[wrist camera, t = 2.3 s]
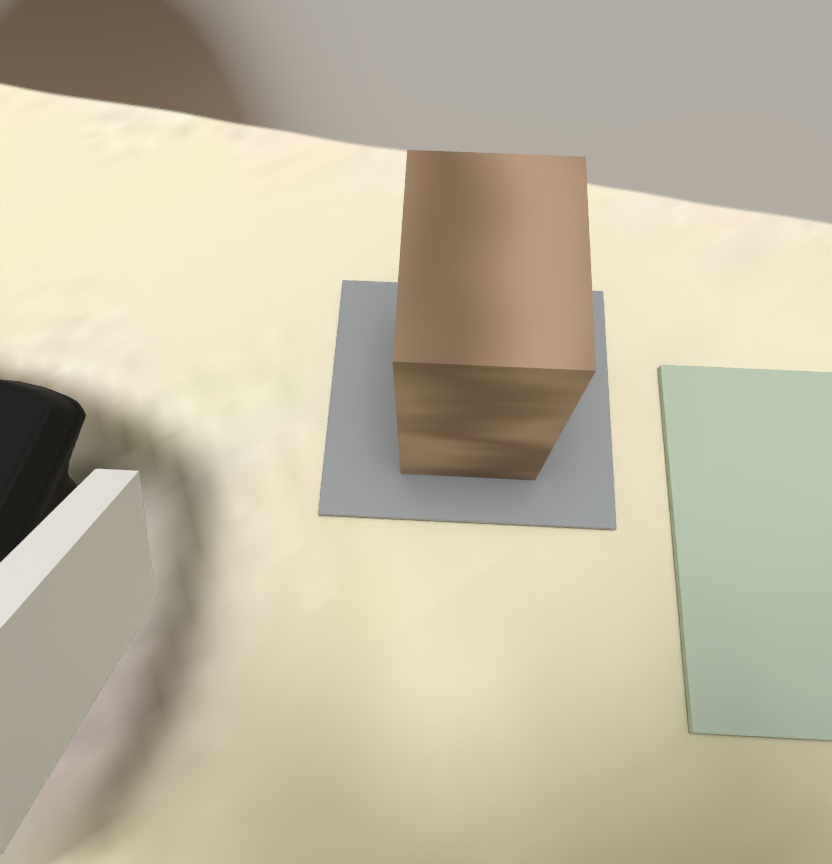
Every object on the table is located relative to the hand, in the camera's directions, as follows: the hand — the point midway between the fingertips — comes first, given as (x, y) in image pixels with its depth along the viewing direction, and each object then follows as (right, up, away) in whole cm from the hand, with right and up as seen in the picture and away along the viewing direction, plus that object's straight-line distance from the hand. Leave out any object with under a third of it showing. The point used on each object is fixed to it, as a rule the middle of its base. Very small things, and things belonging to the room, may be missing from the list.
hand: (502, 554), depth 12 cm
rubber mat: (+17, -3, +17) cm, 24 cm away
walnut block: (+1, +4, +19) cm, 20 cm away
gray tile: (+1, +4, +20) cm, 20 cm away
